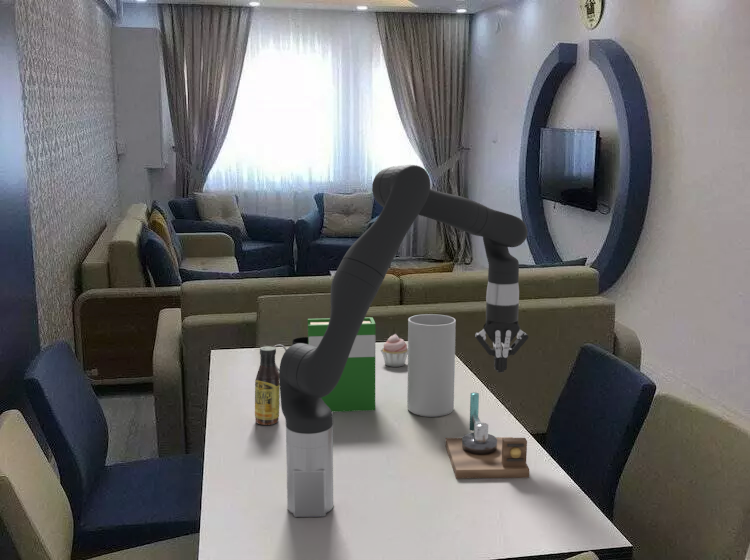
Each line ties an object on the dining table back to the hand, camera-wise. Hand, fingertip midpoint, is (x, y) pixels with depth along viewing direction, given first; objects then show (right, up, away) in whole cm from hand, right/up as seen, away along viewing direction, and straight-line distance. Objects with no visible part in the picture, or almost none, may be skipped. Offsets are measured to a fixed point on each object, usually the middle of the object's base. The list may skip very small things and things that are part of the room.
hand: (500, 371), depth 190 cm
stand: (-5, -20, -8) cm, 22 cm away
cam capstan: (-6, -16, -3) cm, 18 cm away
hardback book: (-39, -13, +28) cm, 49 cm away
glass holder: (-52, -10, +41) cm, 67 cm away
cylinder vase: (-15, -13, +25) cm, 32 cm away
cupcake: (-23, -6, +66) cm, 71 cm away
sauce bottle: (-58, -15, +16) cm, 62 cm away
